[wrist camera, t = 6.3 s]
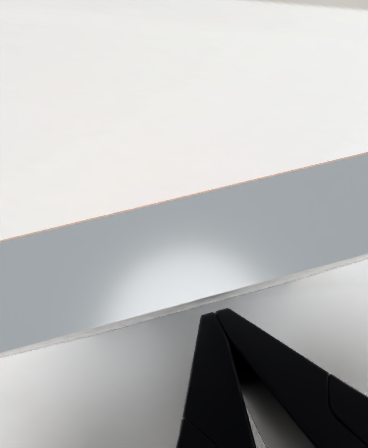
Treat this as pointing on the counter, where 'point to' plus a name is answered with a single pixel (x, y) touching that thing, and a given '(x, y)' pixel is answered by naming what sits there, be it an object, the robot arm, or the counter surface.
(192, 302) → the tile
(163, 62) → the counter surface
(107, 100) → the counter surface
